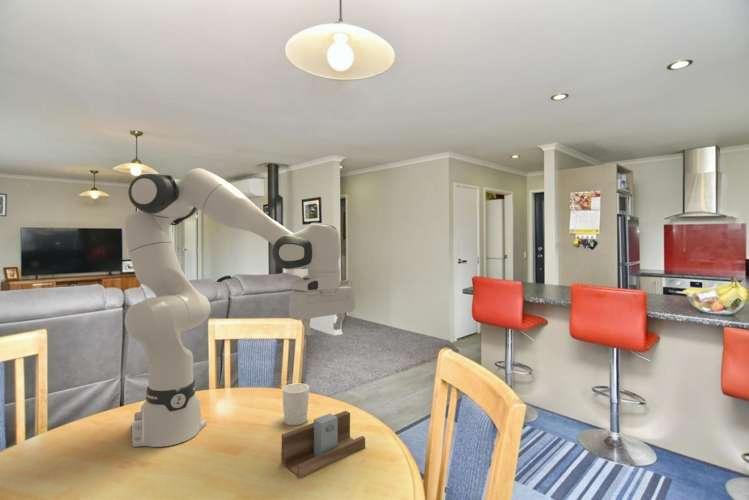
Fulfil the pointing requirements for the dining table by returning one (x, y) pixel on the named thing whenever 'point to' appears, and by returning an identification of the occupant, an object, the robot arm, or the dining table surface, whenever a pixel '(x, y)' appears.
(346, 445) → the cleat board
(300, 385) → the white cup
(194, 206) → the robot arm
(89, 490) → the dining table surface
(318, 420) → the cabinet block
